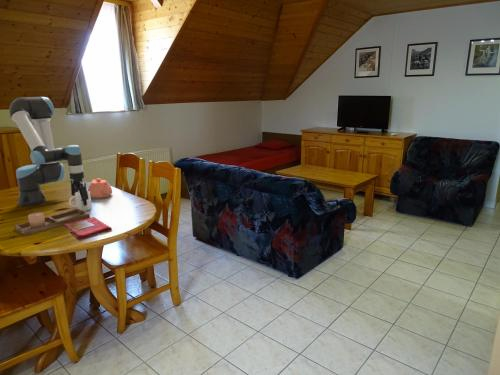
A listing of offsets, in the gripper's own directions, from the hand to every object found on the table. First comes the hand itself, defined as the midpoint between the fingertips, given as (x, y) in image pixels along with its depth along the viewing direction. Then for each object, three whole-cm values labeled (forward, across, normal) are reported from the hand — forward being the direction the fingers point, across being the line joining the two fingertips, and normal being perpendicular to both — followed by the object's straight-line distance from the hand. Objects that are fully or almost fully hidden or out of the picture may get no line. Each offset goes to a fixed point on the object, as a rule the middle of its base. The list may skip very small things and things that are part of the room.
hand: (81, 208), depth 216 cm
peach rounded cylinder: (0, +12, -29) cm, 31 cm away
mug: (+1, -1, 0) cm, 1 cm away
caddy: (+1, +12, -21) cm, 24 cm away
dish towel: (+1, +31, -13) cm, 34 cm away
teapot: (+1, -15, +21) cm, 26 cm away
